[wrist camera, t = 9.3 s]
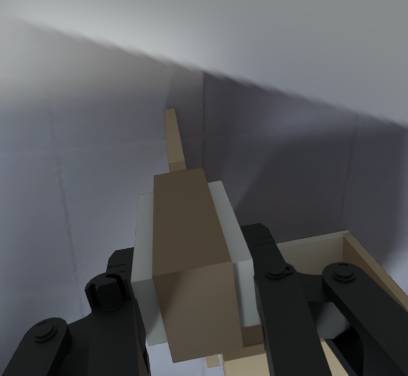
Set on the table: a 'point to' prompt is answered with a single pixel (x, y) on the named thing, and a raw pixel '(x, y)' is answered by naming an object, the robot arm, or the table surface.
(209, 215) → the tan rectangular panel
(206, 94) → the table surface
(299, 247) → the carton
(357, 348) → the robot arm
